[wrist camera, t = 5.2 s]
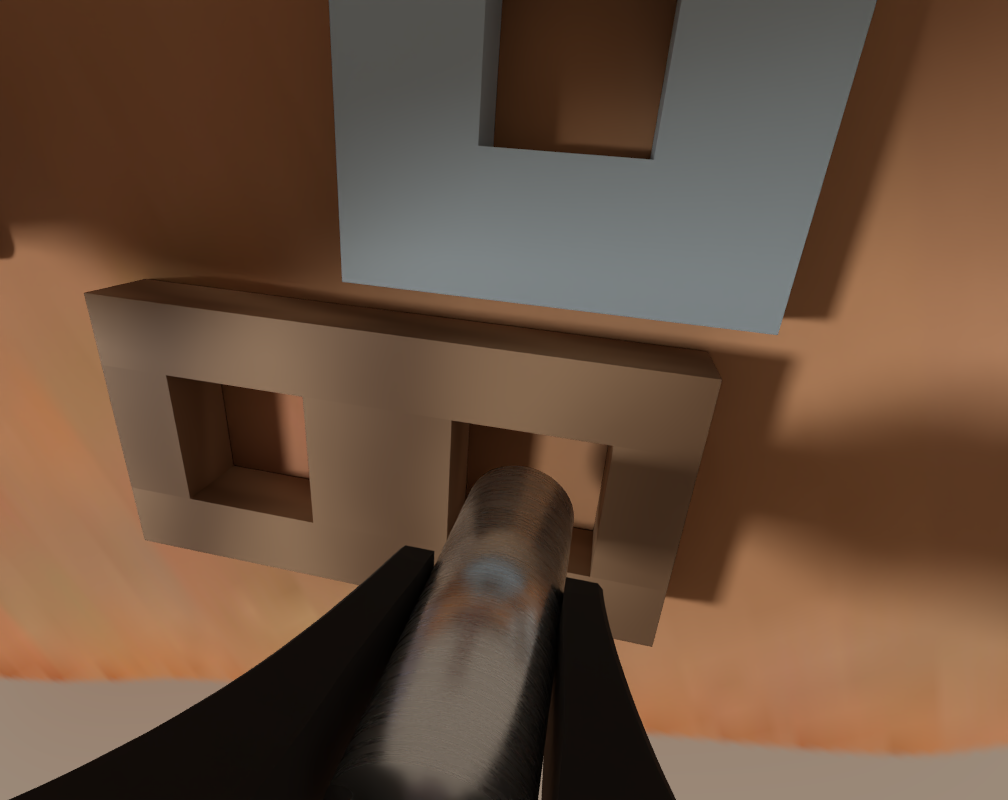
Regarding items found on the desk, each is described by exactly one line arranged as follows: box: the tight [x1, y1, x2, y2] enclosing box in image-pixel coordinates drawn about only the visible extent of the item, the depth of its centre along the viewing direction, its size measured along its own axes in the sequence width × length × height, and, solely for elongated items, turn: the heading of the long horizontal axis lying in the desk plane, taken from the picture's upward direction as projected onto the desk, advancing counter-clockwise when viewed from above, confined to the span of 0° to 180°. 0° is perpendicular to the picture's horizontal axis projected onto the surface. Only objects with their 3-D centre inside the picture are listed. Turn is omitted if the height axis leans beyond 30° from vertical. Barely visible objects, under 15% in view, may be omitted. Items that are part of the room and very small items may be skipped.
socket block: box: [329, 0, 877, 335], centre depth 11 cm, size 10×10×2 cm
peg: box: [323, 466, 574, 800], centre depth 10 cm, size 3×3×7 cm
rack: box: [84, 279, 722, 647], centre depth 15 cm, size 16×8×2 cm, turn 85°
